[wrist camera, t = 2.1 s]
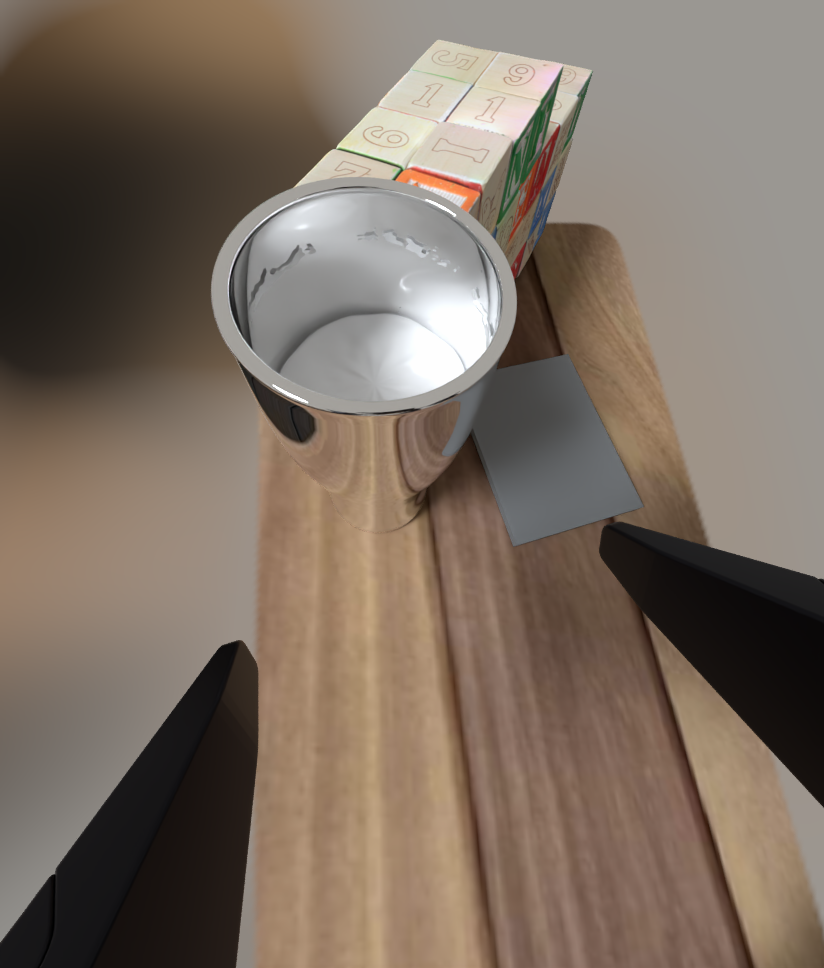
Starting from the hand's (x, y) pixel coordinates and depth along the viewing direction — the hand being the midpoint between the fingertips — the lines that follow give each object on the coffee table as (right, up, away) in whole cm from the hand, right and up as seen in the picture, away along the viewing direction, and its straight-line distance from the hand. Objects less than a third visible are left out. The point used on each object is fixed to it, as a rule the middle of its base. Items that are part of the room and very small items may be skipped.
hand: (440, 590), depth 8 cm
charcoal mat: (+8, +5, +15) cm, 18 cm away
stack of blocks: (+3, +16, +18) cm, 24 cm away
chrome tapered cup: (-3, +2, +14) cm, 14 cm away
